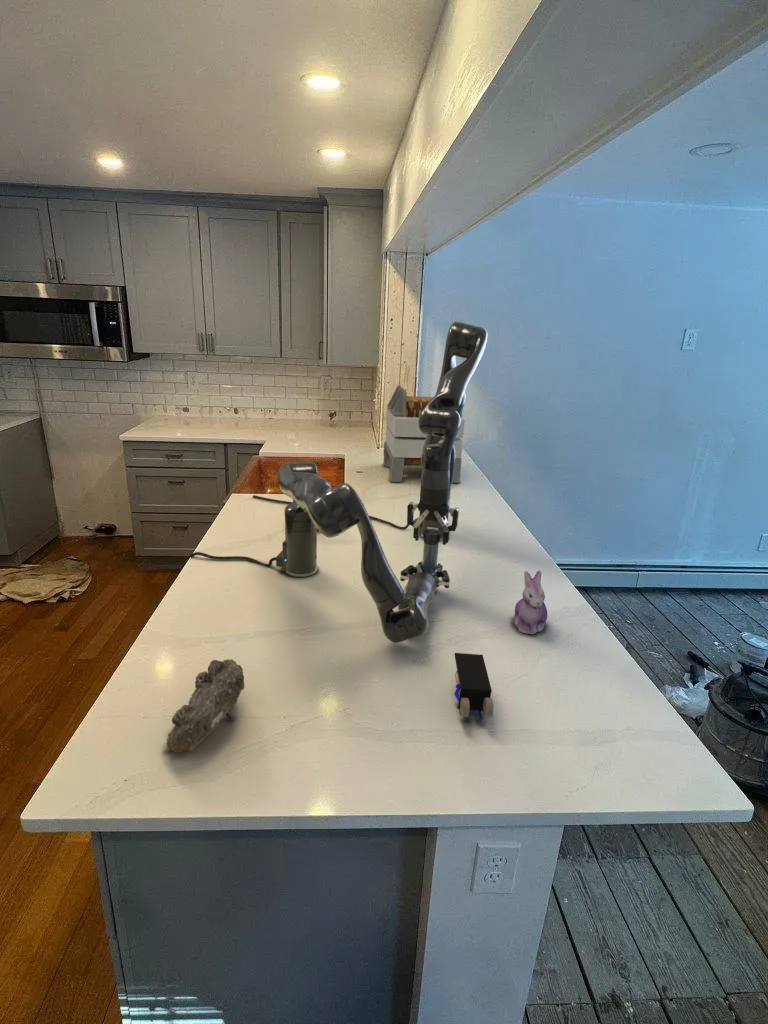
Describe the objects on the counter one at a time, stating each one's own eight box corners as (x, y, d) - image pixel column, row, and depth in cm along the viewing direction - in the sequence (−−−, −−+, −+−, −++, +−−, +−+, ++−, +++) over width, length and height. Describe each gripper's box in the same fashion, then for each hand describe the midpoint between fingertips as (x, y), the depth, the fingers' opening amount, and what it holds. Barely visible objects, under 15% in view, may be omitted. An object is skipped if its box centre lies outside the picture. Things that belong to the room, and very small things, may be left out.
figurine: (529, 639, 138) (537, 584, 133) (502, 619, 147) (509, 567, 142) (558, 631, 142) (567, 577, 137) (530, 612, 151) (538, 561, 146)
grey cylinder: (419, 586, 162) (423, 531, 157) (434, 587, 163) (438, 531, 157) (420, 593, 159) (425, 537, 153) (435, 594, 159) (440, 537, 153)
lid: (425, 543, 153) (426, 535, 152) (421, 537, 157) (421, 529, 156) (442, 543, 154) (442, 534, 153) (437, 536, 158) (438, 528, 157)
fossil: (192, 660, 117) (244, 628, 112) (224, 691, 120) (276, 661, 115) (142, 746, 98) (202, 712, 93) (182, 779, 101) (242, 748, 96)
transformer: (382, 463, 289) (386, 382, 275) (445, 464, 293) (451, 384, 279) (390, 482, 257) (394, 392, 243) (460, 483, 261) (468, 394, 247)
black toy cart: (492, 733, 109) (479, 678, 122) (498, 704, 105) (484, 650, 119) (458, 733, 109) (448, 677, 122) (462, 703, 105) (452, 650, 119)
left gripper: (448, 583, 142) (457, 556, 158) (392, 574, 146) (407, 549, 161) (445, 609, 145) (454, 580, 161) (391, 600, 148) (405, 573, 164)
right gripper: (464, 483, 152) (458, 540, 157) (411, 477, 155) (408, 533, 161) (459, 491, 145) (454, 550, 150) (405, 484, 148) (401, 543, 154)
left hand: (430, 565), depth 161 cm, fingers closed on grey cylinder, 4 cm apart
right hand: (430, 541), depth 155 cm, fingers open, 7 cm apart
